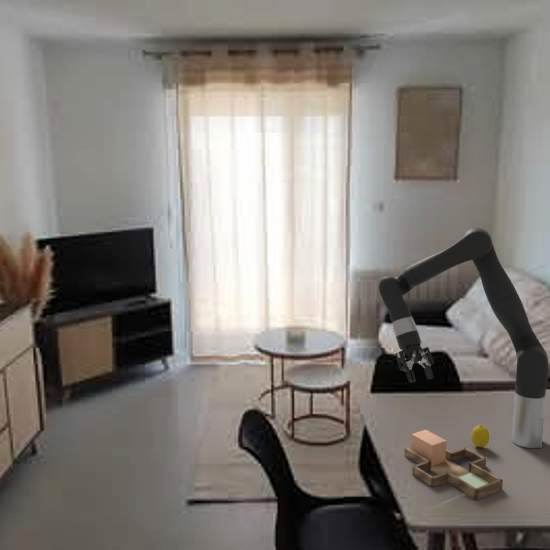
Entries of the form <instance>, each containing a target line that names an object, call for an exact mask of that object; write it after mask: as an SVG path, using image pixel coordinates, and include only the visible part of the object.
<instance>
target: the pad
mask: <svg viewBox="0 0 550 550" xmlns="http://www.w3.org/2000/svg"><path fill="white" fill-rule="evenodd" d="M459 478H460V479H461V480H463V481H465V482H466V483H468V484H470V485H472V486H473V487H475V488H479V487H481V486H484V485H486V484H489V482H487V481H485V480H483V479H482V478H480V477H478V476H476V475H475V474H473V473H469V474H466V475H464V476H461V477H459Z"/></svg>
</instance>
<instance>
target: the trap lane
mask: <svg viewBox="0 0 550 550" xmlns="http://www.w3.org/2000/svg"><path fill="white" fill-rule="evenodd" d="M404 457H406V458H407V459H409V460H410V461H413V462H414V463H416V464H415V465H413V466H412V472H411V473H412V474H411V475H413V476H414V477H415V478H417V479H419V480H421V481H422V482H424V483H425V484H427V485H428V486H430V487H432V488H435V487H437V486H440V485H442V484H446V483H448V484H450V485H452V486H453V487H456V488H457V489H459V490H460V491H462V492H463V493H464V494H465V495H467V496H468V497H470V498H471V499H473V500H475V501H478V500H481V499H483V498H485V497H487V496H490V495H492V494H494V493H497V492H500V491H502V490H503V484H504V483H503V480H504V479H502V478H500V477H499V476H497V475H495V474H493V473H490V472H489V471H487V470H485V469H483V468H486V467H487V458H486V457H484V456H483V455H480V454H478V453H476V452H474V451H472V450H471V449H469V448H467V447H463V448H460V449H457V450H453V451H450V450H449V449H447V448H446V461H445V462H442V463H440V464H437V465H434V466H432V467H431V461H429V460H427V459H426V458H424V457H422V456H420V455H419V454H417V453H415V452H414V451H412V450H411V448H409V447H404ZM469 473H473V474H475V475H476V476H478V477H480V478H482V479H483V480H485V481H487V482H489V484H486V485H484V486H481V487H479V488H475V487H473V486H472V485H470V484H468V483H466V482H465V481H463V480H461V479H460V478H459V477H461V476H464V475H466V474H469Z"/></svg>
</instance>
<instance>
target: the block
mask: <svg viewBox="0 0 550 550" xmlns="http://www.w3.org/2000/svg"><path fill="white" fill-rule="evenodd" d="M410 447H411V448H410V450H412V451H414V452H415V453H417V454H419V455H420V456H422V457H424V458H426V459H427V460H429V461H431V467H432V466H434V465H437V464H440V463H442V462H445V461H446V449H447V440H446V439H445V438H443V437H441V436H439V435H437V434H435V433H434V432H431V431H429V430H427V429H423V430H420V431H417V432H414V433H411V443H410Z"/></svg>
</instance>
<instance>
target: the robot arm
mask: <svg viewBox="0 0 550 550" xmlns="http://www.w3.org/2000/svg"><path fill="white" fill-rule="evenodd" d="M469 261H472V262H473V265H474V267H475V268H476V270H477V271H478V275H479V277H480V280H481V284H482V288H483V290H484V293H485V296H486V299H487V302H488V303H489V305H490V307H491V310H492V312H493V314H494V316H495V317H496V319H497V321H499V323H500V324H501V326H502V328H503V329H504V330H505V331H506V332H507V335H508V336H509V339H510V340H511V343H512V345H513V347H514V351H515V354H516V372H515V374H516V375H515V384H514V400H513V401H514V402H513V403H514V404H513V414H512V415H513V417H512V430H511V441H512V442H513V443H514V444H515V445H517V446H519V447H523V448H528V449H536V448H537V449H538V448H540V449H542V447H543V438H544V436H543V435H544V424H545V423H544V422H545V417H544V416H545V407H546V406H545V404H546V394H547V393H546V392H547V387H548V376H549V357H548V353H547V351H546V350H545V348H544V347H543V345H542V344H541V342H540V340H539V338H538V336H537V335H536V334H535V332H534V331H533V328H532V326H531V324H530V321H529V319H528V314H527V312H526V309H525V307H524V304H523V302H522V300H521V298H520V295H519V293H518V291H517V289H516V288H515V285H514V284H513V282H512V280H511V278H510V277H509V275H508V274H507V272H506V271H505V269H504V267H503V266H502V264H501V262H500V260H499V258H498V255H497V252H496V249H495V247H494V244H493V241H492V237H491V234H490V233H489V232H488V231H487V230H485V229H483V228H482V227H481V228H480V227H473V228H470V229H469V230H467V231H466V232H465V233H464V235H463V236H462V237H461V238H460V239H459V240H458V241H457V242H454V244H452V245H451V246H449V247H448V248H446V249H443V250H442V251H439V252H437V253H435V254H432V255H430V256H427V257H426V258H422V259H421V260H419V261H417V262H415V263H413V264H411V265H409V266H408V267H406V268H405V269H404V270H403V273H401V274H400V275H398V276H396V277H394V276H390V275H388V276H387V275H386V276H384V277H382V279H380V280H379V282H378V283H379V284H378V291H379V295H380V297H381V298H382V301H383V304H384V305H385V307H386V309H387V312H388V314H389V318H390V321H391V324H392V329H393V330H392V331H393V333H394V335H395V339H396V343H397V345H398V348H399V350H400V351H397V352H396V353H395V357H396V361H397V362H396V363H397V364H398V367H399V371H404V372H405V374H406V378H407V380H408V382H409V383H410V384H411V383H415V382H416V381H417V380H416V377H415V373H414V371H413V370H412V368H413V365H414V364H415V363H417V364H418V365H421V366H422V367H423V370H424V373H425V376H426V379H427V380H432V379H433V378H434V373H433V370H432V365H434V364H435V361H434V358H433V356H432V355H433V354H432V353H431V350H430V348H429V347H428V346H426V347H423V348H422V346H421V344H422V340H421V336H420V333H419V330H418V328H417V324H416V322H415V320H414V318H413V315H412V313H411V309H410V306H409V305H408V303H407V302H406V300H405V299H404V296H405V295H406V294H407V293H409V292H411V291H412V290H413V289H414V288H415V287H418V286H419V285H421V284H424V283H425V282H428V281H429V280H431V279H433V278H436V277H437V276H439V275H440V274H443V273H445V272H446V271H448V270H451V269H452V268H454V267H456V266H459V265H461V264H464V263H466V262H469Z"/></svg>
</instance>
